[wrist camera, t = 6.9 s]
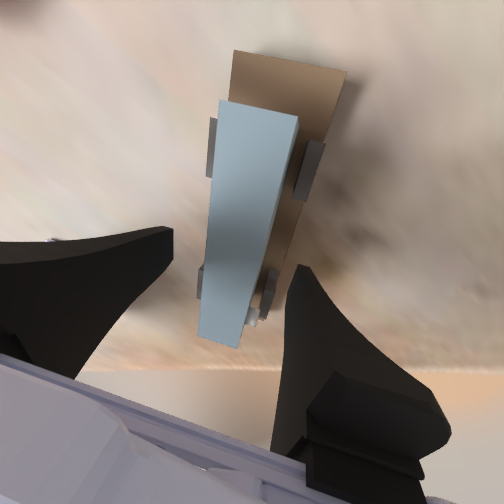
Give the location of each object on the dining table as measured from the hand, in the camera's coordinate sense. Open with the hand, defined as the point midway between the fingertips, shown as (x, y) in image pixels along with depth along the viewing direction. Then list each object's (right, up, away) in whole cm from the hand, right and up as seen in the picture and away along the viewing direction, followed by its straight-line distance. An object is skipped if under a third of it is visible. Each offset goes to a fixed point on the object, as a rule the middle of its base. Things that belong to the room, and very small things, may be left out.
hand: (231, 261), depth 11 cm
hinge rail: (+2, +3, +6) cm, 7 cm away
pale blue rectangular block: (+1, +3, +5) cm, 6 cm away
